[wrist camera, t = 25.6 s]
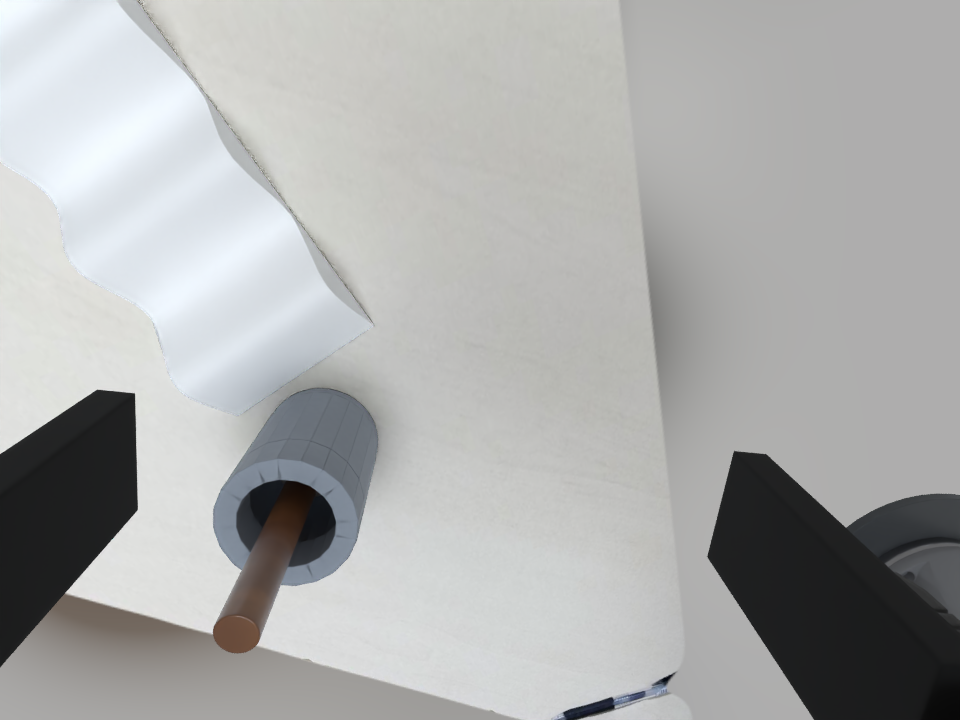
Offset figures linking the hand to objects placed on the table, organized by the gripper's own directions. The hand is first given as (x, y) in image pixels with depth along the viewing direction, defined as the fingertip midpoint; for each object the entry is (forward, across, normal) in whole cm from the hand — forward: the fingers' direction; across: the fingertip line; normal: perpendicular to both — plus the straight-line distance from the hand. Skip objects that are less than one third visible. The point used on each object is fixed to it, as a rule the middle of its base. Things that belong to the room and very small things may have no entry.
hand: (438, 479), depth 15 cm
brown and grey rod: (+36, -8, -16) cm, 40 cm away
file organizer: (+37, -21, +3) cm, 43 cm away
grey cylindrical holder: (+37, -8, -16) cm, 41 cm away
